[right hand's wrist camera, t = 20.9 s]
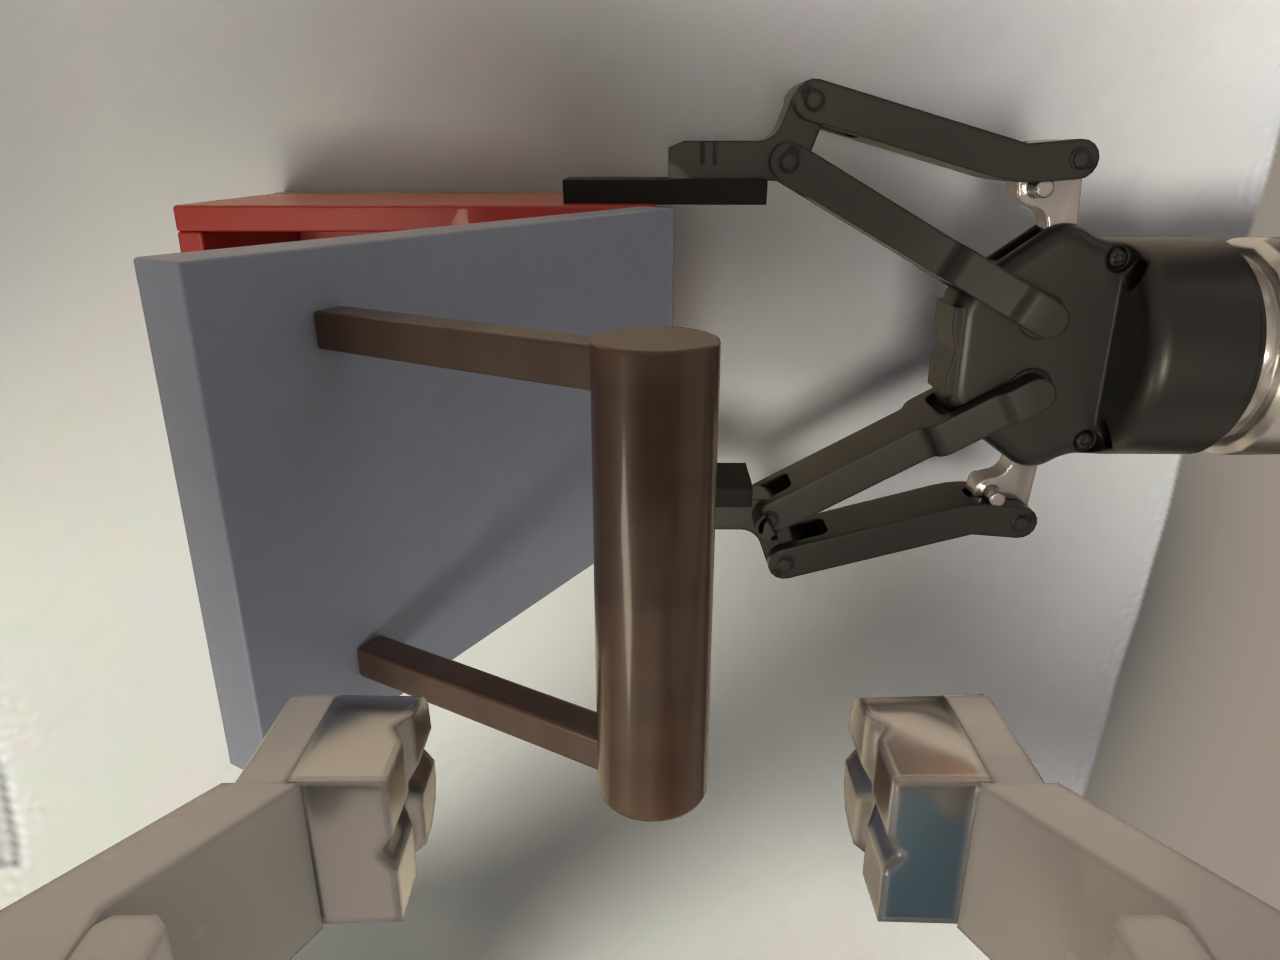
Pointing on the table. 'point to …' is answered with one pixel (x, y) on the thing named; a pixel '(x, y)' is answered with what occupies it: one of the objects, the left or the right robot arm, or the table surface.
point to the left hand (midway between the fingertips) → (571, 345)
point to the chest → (356, 214)
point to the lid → (450, 475)
